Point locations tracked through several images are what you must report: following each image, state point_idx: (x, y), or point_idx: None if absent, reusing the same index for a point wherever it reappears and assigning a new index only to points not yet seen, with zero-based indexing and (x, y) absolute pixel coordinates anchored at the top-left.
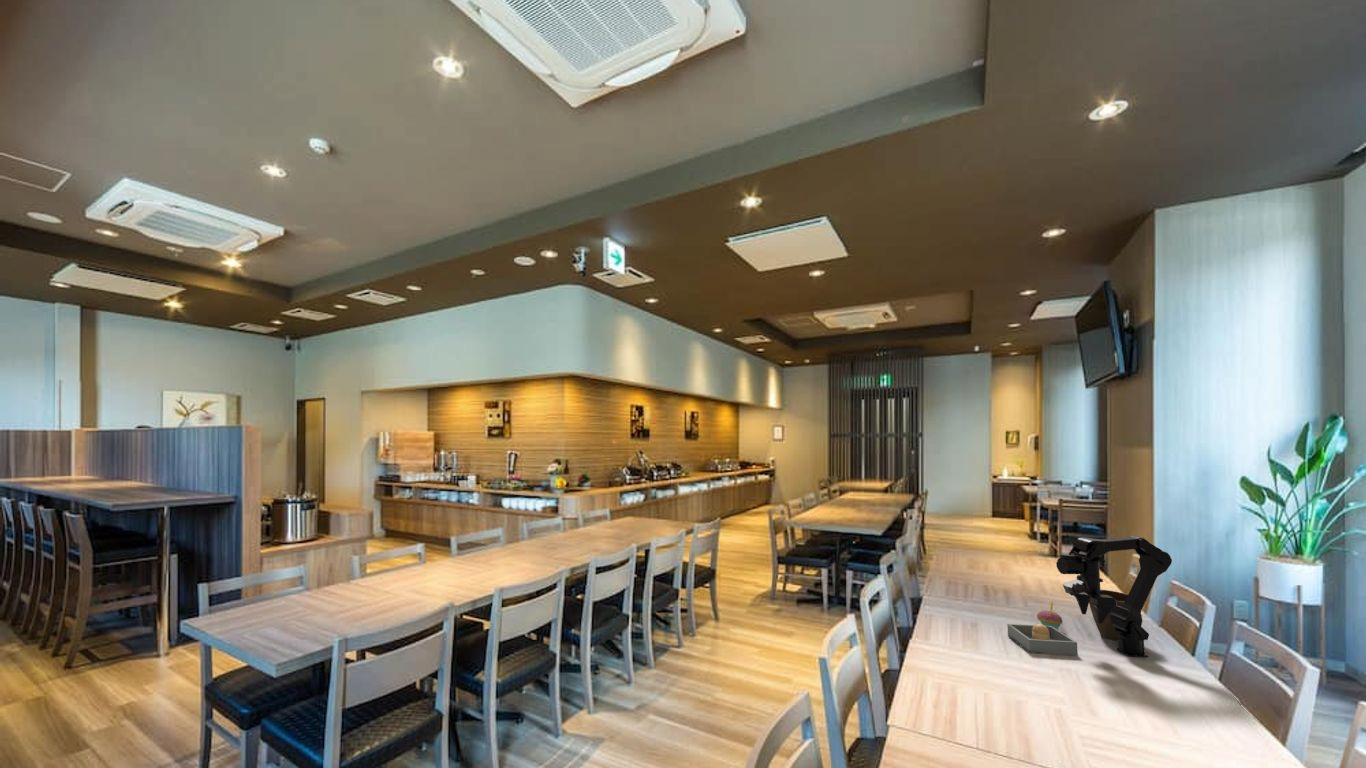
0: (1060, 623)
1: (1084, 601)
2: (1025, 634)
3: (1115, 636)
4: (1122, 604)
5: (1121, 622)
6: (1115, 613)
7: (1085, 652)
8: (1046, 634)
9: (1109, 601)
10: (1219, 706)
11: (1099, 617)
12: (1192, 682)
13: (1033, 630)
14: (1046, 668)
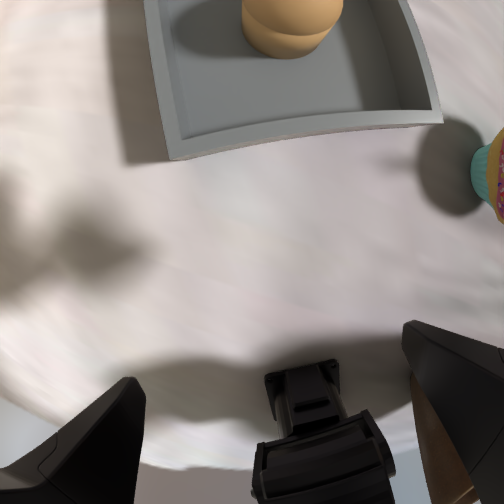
0: (493, 207)
1: (480, 434)
2: (372, 5)
3: (416, 380)
4: (439, 500)
5: (290, 478)
6: (355, 494)
7: (251, 215)
8: (246, 9)
9: None
10: (12, 393)
11: (83, 417)
12: None
13: None
14: (25, 34)
